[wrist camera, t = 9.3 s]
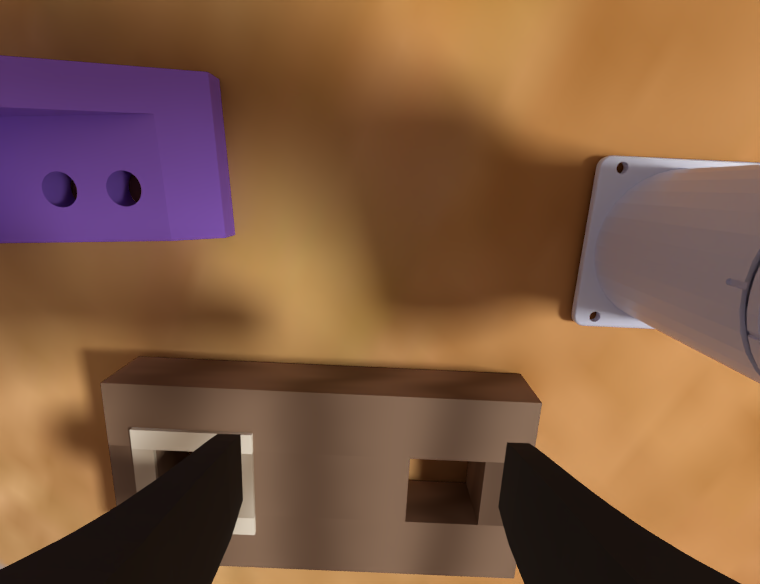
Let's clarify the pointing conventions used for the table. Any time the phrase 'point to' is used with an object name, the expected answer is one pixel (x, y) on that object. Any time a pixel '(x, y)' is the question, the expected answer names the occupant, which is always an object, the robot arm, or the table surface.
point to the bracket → (110, 153)
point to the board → (333, 457)
